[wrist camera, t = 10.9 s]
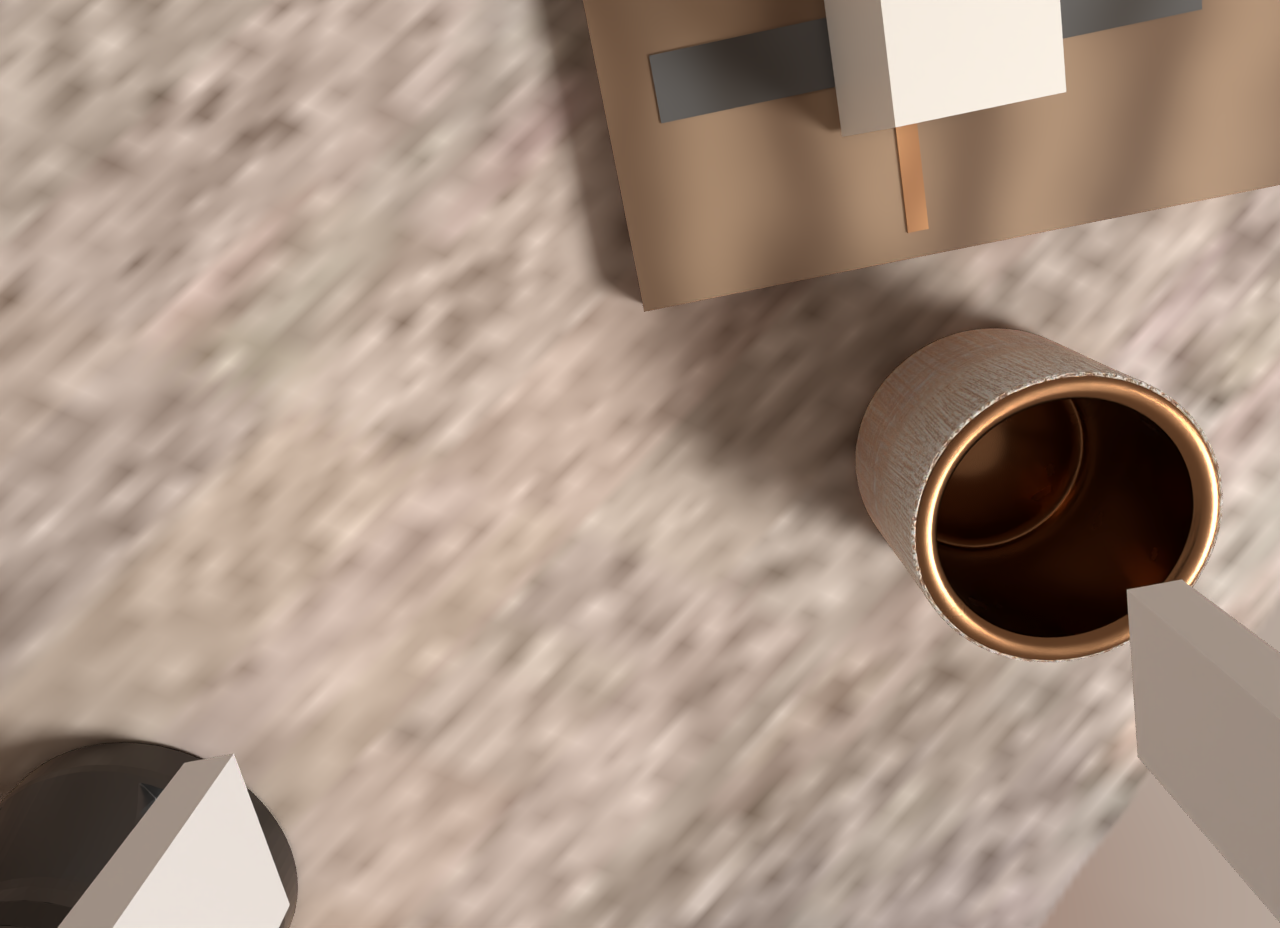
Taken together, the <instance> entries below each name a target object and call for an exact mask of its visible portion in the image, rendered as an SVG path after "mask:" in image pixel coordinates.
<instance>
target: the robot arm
mask: <svg viewBox="0 0 1280 928" xmlns="http://www.w3.org/2000/svg"><path fill="white" fill-rule="evenodd" d="M1127 602H1128V617H1129V632H1130V648H1131V663H1132V678H1133V693H1134V709H1135V724H1136V739H1137V754H1138V758H1139V759H1140V760H1141V761H1142V763H1143V764H1144V765H1145V766H1146V767H1147V768H1148V770H1149V771H1150V772H1151V773H1152V774H1153V775H1154V777H1155V778H1156V779H1157V780H1158V781H1159V782H1160V784H1161V785H1162V786H1163V787H1164V788H1165V789H1166V790H1167V792H1168V793H1169V794H1170V795H1171V796H1172V797H1173V799H1174V800H1175V801H1176V802H1177V803H1178V805H1179V806H1180V807H1181V808H1182V809H1183V810H1184V812H1185V813H1186V814H1187V815H1188V816H1189V817H1190V819H1192V821H1193V822H1194V823H1195V824H1196V826H1197V827H1198V828H1199V829H1200V830H1201V831H1202V832H1203V834H1204V835H1205V836H1206V837H1207V838H1208V839H1209V841H1210V842H1211V843H1212V844H1213V845H1214V846H1215V848H1216V849H1217V850H1218V851H1219V852H1220V853H1221V854H1222V856H1223V857H1224V858H1225V859H1226V860H1227V861H1228V863H1229V864H1230V865H1231V866H1232V867H1233V868H1234V870H1235V871H1236V872H1237V873H1238V874H1239V876H1240V877H1241V878H1242V879H1243V880H1244V881H1245V882H1246V884H1247V885H1248V886H1249V887H1250V888H1251V890H1252V891H1253V892H1254V893H1255V894H1256V895H1257V896H1258V898H1259V899H1260V900H1261V901H1262V902H1263V904H1264V905H1265V906H1266V907H1267V908H1268V909H1269V910H1270V912H1271V913H1272V914H1273V915H1274V916H1275V918H1276V919H1277V920H1278V921H1279V922H1280V652H1278V651H1277V650H1276V649H1274V648H1273V647H1272V646H1270V645H1269V644H1268V643H1266V642H1265V641H1264V640H1262V639H1261V638H1259V637H1258V636H1257V635H1256V634H1254V633H1253V632H1252V631H1250V630H1249V629H1248V628H1246V627H1245V626H1243V625H1242V624H1241V623H1239V622H1238V621H1237V620H1235V619H1234V618H1233V617H1231V616H1230V615H1229V614H1227V613H1226V612H1225V611H1223V610H1222V609H1221V608H1219V607H1218V606H1217V605H1215V604H1214V603H1213V602H1211V601H1210V600H1209V599H1207V598H1206V597H1205V596H1203V595H1202V594H1201V593H1199V592H1198V591H1196V590H1195V589H1194V588H1192V587H1191V586H1190V585H1188V584H1187V583H1186V582H1184V581H1183V580H1176V581H1171V582H1165V583H1160V584H1154V585H1149V586H1144V587H1138V588H1133V589H1127ZM297 892H298V883H297V872H296V866H295V862H294V858H293V855H292V852H291V849H290V846H289V844H288V841H287V839H286V837H285V835H284V833H283V831H282V830H281V828H280V826H279V825H278V823H277V821H276V820H275V819H274V817H273V816H272V814H271V813H270V812H269V810H268V809H267V808H266V807H265V806H264V804H263V803H262V802H261V801H260V800H259V799H258V798H257V797H256V796H255V795H254V794H253V793H252V792H251V791H249V790H248V789H247V788H246V785H245V783H244V780H243V777H242V774H241V772H240V769H239V766H238V764H237V761H236V758H235V756H234V754H229V755H224V756H218V757H213V758H208V759H202V760H201V759H199V758H196V757H194V756H191V755H189V754H186V753H183V752H179V751H176V750H173V749H169V748H165V747H160V746H154V745H148V744H139V743H108V744H99V745H93V746H88V747H83V748H80V749H76V750H73V751H70V752H67V753H65V754H62V755H60V756H58V757H55V758H53V759H51V760H50V761H48V762H46V763H44V764H43V765H41V766H40V767H38V768H37V769H35V770H34V771H33V772H32V773H30V774H29V775H28V776H27V777H26V778H25V779H24V780H23V781H22V782H21V783H20V784H19V785H18V786H17V787H16V788H15V789H14V790H13V791H12V792H11V793H10V794H9V795H8V796H6V797H5V798H4V799H3V800H2V801H1V802H0V928H289V927H290V924H291V922H292V919H293V916H294V912H295V908H296V902H297Z"/></svg>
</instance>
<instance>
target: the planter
mask: <svg viewBox="0 0 1280 928" xmlns="http://www.w3.org/2000/svg"><path fill="white" fill-rule="evenodd" d="M855 462H856V475H857V481H858V486H859V490H860V494H861V497H862V500H863V503H864V505H865V508H866V510H867V512H868V514H869V516H870V518H871V519H872V521H873V523H874V524H875V526H876V527H877V528H878V530H879V531H880V533H881V534H882V536H883V537H884V538H885V540H886V541H887V543H888V544H889V545H890V547H891V548H892V549H893V551H894V552H895V554H896V555H897V556H898V558H899V559H900V560H901V562H902V563H903V565H904V566H905V567H906V569H907V570H908V572H909V573H910V574H911V576H912V577H913V579H914V580H915V582H916V583H917V585H918V586H919V588H920V589H921V590H922V592H923V593H924V595H925V596H926V598H927V599H928V601H929V602H930V604H931V605H932V606H933V608H934V609H935V610H936V612H937V613H938V614H939V615H940V616H941V617H942V619H943V620H944V621H945V622H946V623H947V624H948V625H949V626H950V627H951V628H953V629H954V630H955V631H956V632H957V633H959V634H960V635H961V636H963V637H964V638H966V639H967V640H969V641H970V642H972V643H974V644H976V645H977V646H979V647H981V648H983V649H986V650H988V651H990V652H993V653H995V654H998V655H1001V656H1005V657H1008V658H1013V659H1017V660H1023V661H1030V662H1064V661H1072V660H1079V659H1083V658H1088V657H1092V656H1095V655H1099V654H1102V653H1105V652H1107V651H1110V650H1113V649H1115V648H1117V647H1120V646H1122V645H1124V644H1126V643H1128V642H1130V632H1129V617H1128V602H1127V589H1133V588H1138V587H1144V586H1149V585H1154V584H1160V583H1165V582H1171V581H1176V580H1183V581H1184V582H1186V583H1187V584H1188V585H1190V586H1191V587H1192V588H1193V586H1194V585H1195V583H1196V582H1197V580H1198V579H1199V577H1200V575H1201V574H1202V572H1203V570H1204V568H1205V566H1206V565H1207V563H1208V561H1209V558H1210V556H1211V554H1212V551H1213V549H1214V546H1215V543H1216V540H1217V536H1218V532H1219V528H1220V522H1221V517H1222V505H1223V493H1222V482H1221V476H1220V470H1219V467H1218V463H1217V460H1216V457H1215V454H1214V451H1213V449H1212V447H1211V445H1210V443H1209V441H1208V439H1207V437H1206V435H1205V434H1204V432H1203V430H1202V429H1201V427H1200V426H1199V425H1198V423H1197V422H1196V421H1195V420H1194V418H1193V417H1192V416H1191V415H1190V414H1189V413H1188V412H1187V411H1186V410H1185V409H1184V408H1183V407H1182V406H1181V405H1180V404H1179V403H1177V402H1176V401H1175V400H1173V399H1172V398H1171V397H1169V396H1168V395H1166V394H1165V393H1163V392H1162V391H1160V390H1158V389H1156V388H1155V387H1153V386H1151V385H1149V384H1147V383H1145V382H1142V381H1140V380H1138V379H1135V378H1133V377H1131V376H1128V375H1126V374H1124V373H1121V372H1119V371H1117V370H1114V369H1112V368H1110V367H1108V366H1106V365H1103V364H1101V363H1099V362H1097V361H1095V360H1092V359H1090V358H1088V357H1086V356H1084V355H1082V354H1080V353H1078V352H1075V351H1073V350H1071V349H1069V348H1067V347H1065V346H1062V345H1060V344H1058V343H1056V342H1053V341H1051V340H1049V339H1046V338H1044V337H1042V336H1039V335H1036V334H1032V333H1029V332H1024V331H1019V330H1012V329H999V328H987V329H976V330H970V331H964V332H960V333H956V334H953V335H950V336H947V337H944V338H942V339H939V340H937V341H935V342H933V343H931V344H929V345H927V346H925V347H923V348H922V349H920V350H918V351H917V352H915V353H914V354H912V355H911V356H910V357H908V358H907V359H906V360H905V361H903V362H902V363H901V364H900V365H899V366H898V367H897V368H896V369H895V370H893V372H892V373H891V374H890V375H889V376H888V377H887V378H886V379H885V381H884V382H883V383H882V384H881V386H880V387H879V389H878V390H877V392H876V393H875V395H874V396H873V398H872V400H871V402H870V403H869V405H868V407H867V409H866V412H865V414H864V417H863V419H862V422H861V426H860V429H859V433H858V438H857V444H856V455H855Z"/></svg>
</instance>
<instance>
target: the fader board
mask: <svg viewBox="0 0 1280 928" xmlns="http://www.w3.org/2000/svg"><path fill="white" fill-rule="evenodd" d="M583 4H584V9H585V14H586V19H587V24H588V29H589V34H590V40H591V45H592V50H593V55H594V60H595V65H596V70H597V75H598V80H599V85H600V90H601V95H602V100H603V105H604V110H605V115H606V120H607V126H608V131H609V136H610V141H611V146H612V151H613V156H614V161H615V166H616V171H617V176H618V181H619V186H620V191H621V196H622V201H623V206H624V212H625V217H626V222H627V227H628V232H629V237H630V242H631V247H632V252H633V257H634V262H635V267H636V272H637V277H638V282H639V287H640V293H641V298H642V303H643V308H644V312H645V311H650V310H655V309H660V308H665V307H670V306H675V305H680V304H685V303H691V302H696V301H701V300H706V299H711V298H716V297H721V296H726V295H731V294H736V293H741V292H746V291H751V290H756V289H761V288H766V287H771V286H776V285H781V284H786V283H791V282H796V281H801V280H806V279H811V278H816V277H821V276H826V275H831V274H836V273H841V272H846V271H851V270H856V269H861V268H866V267H871V266H876V265H881V264H886V263H891V262H896V261H901V260H906V259H911V258H916V257H921V256H926V255H931V254H936V253H941V252H946V251H951V250H956V249H961V248H966V247H971V246H976V245H981V244H986V243H991V242H996V241H1001V240H1006V239H1011V238H1016V237H1021V236H1026V235H1031V234H1036V233H1041V232H1046V231H1051V230H1056V229H1061V228H1066V227H1071V226H1076V225H1081V224H1086V223H1091V222H1096V221H1101V220H1106V219H1111V218H1116V217H1121V216H1126V215H1131V214H1136V213H1141V212H1146V211H1151V210H1156V209H1161V208H1166V207H1171V206H1176V205H1181V204H1186V203H1191V202H1196V201H1201V200H1206V199H1211V198H1216V197H1221V196H1226V195H1231V194H1236V193H1241V192H1246V191H1251V190H1256V189H1261V188H1266V187H1271V186H1276V185H1280V0H1060V6H1061V21H1062V35H1063V50H1064V65H1065V79H1066V92H1064V93H1059V94H1054V95H1049V96H1045V97H1040V98H1035V99H1030V100H1025V101H1021V102H1016V103H1011V104H1006V105H1001V106H996V107H992V108H987V109H982V110H977V111H972V112H968V113H963V114H958V115H953V116H948V117H944V118H939V119H934V120H929V121H924V122H919V123H915V124H910V125H905V126H900V127H895V128H890V129H884V130H878V131H873V132H867V133H861V134H855V135H850V136H844V137H842V132H841V125H840V117H839V110H838V102H837V95H836V87H835V80H834V72H833V65H832V57H831V49H830V42H829V34H828V27H827V19H826V12H825V4H824V0H583Z"/></svg>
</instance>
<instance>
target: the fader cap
mask: <svg viewBox="0 0 1280 928" xmlns="http://www.w3.org/2000/svg"><path fill="white" fill-rule="evenodd" d="M824 4H825V12H826V19H827V27H828V34H829V42H830V49H831V57H832V65H833V72H834V80H835V87H836V95H837V102H838V110H839V117H840V125H841V132H842V137H844V136H850V135H855V134H861V133H867V132H873V131H878V130H884V129H890V128H895V127H900V126H905V125H910V124H915V123H919V122H924V121H929V120H934V119H939V118H944V117H948V116H953V115H958V114H963V113H968V112H972V111H977V110H982V109H987V108H992V107H996V106H1001V105H1006V104H1011V103H1016V102H1021V101H1025V100H1030V99H1035V98H1040V97H1045V96H1049V95H1054V94H1059V93H1064V92H1066V79H1065V65H1064V50H1063V35H1062V21H1061V6H1060V0H824Z"/></svg>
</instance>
